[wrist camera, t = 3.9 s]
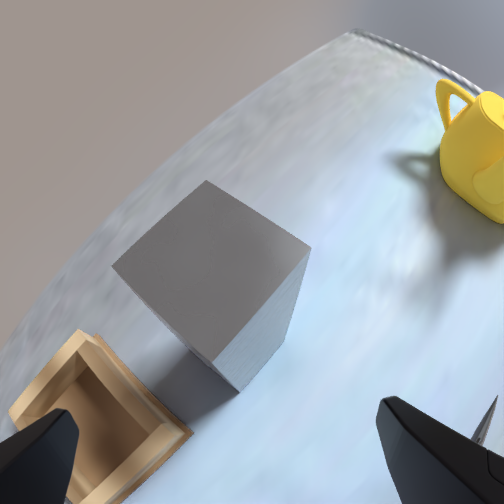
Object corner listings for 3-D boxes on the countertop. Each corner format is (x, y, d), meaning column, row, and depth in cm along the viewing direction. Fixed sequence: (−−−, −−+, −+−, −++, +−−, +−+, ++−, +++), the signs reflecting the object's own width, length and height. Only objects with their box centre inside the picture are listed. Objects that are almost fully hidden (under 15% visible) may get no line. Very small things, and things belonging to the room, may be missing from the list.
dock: (108, 513, 13) (87, 523, 10) (29, 414, 16) (4, 410, 14) (194, 432, 17) (182, 436, 14) (99, 335, 20) (78, 322, 17)
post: (240, 392, 18) (211, 362, 8) (189, 349, 19) (111, 266, 9) (283, 341, 20) (311, 247, 9) (232, 302, 21) (206, 180, 11)
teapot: (436, 105, 34) (457, 44, 25) (521, 164, 29) (554, 110, 20) (382, 185, 26) (419, 87, 17) (508, 278, 21) (579, 211, 12)
